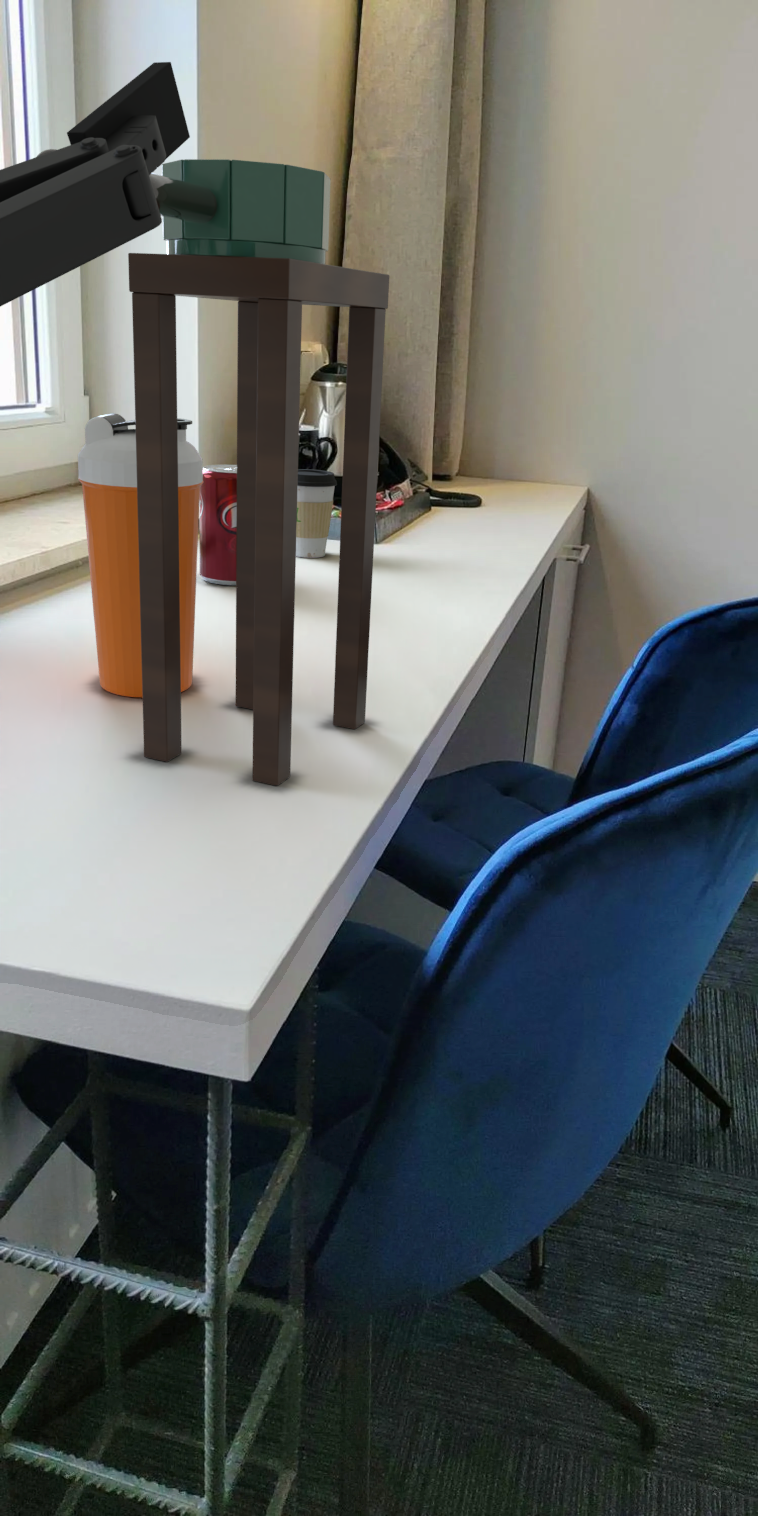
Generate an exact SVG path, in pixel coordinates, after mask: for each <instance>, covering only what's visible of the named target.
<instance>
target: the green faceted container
mask: <svg viewBox="0 0 758 1516" xmlns="http://www.w3.org/2000/svg"><path fill="white" fill-rule="evenodd" d="M55 150H57V148H47V149H45V150H42V151H41V152H40V153H38V154H37V156H36V157H38V156H41V155H44V154H47V153H50V152H52V151H55ZM149 177H150V180H151V184H152V187H153V191H154V194H155V198H156V201H157V205H158V208H159V212H160V215H161V217H162V237H163V238H162V239H163V241H166V254H177V255H206V256H235V257H264V258H290V259H296V260H302V261H308V262H314V263H320V264H326V261H327V259H326V258H327V252H329V239H330V210H331V207H330V206H331V178H330V177H329V176H328V174H327V173H326V172H324V171H323V170H317V169H311V168H306V167H302V166H297V165H292V164H284V163H277V162H276V163H275V162H266V161H265V162H264V161H254V160H241V159H240V160H239V159H226V158H225V159H224V158H223V159H221V158H220V159H218V158H217V159H215V158H213V159H212V158H211V159H210V158H209V159H207V158H205V159H202V158H201V159H200V158H199V159H197V158H196V159H195V158H194V159H193V158H192V159H191V158H188V159H187V158H186V159H178V160H173V161H169V162H163V163H162V164H161V175H160V174H157V173H154V172H152V173H151V174H150V175H149Z"/></svg>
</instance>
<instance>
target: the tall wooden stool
mask: <svg viewBox="0 0 758 1516" xmlns="http://www.w3.org/2000/svg"><path fill="white" fill-rule="evenodd" d="M127 258H128V263H127V264H128V292H130V293H131V307H132V311H131V312H132V313H131V314H132V346H133V348H132V349H133V382H134V383H133V384H134V387H133V388H134V420H135V425H134V427H135V429H136V466H137V504H138V542H139V580H140V619H141V657H142V695H143V698H142V724H143V725H142V729H143V731H142V732H143V734H142V735H143V757H144V758H147V759H152V760H157V761H161V762H165V763H168V762H169V761H171V760H173V759H175V758H177V757H178V756H180V755H181V754H182V752H183V751H182V750H183V749H182V747H183V745H182V692H181V668H180V591H179V514H178V437H177V418H178V381H177V380H178V378H177V377H178V374H177V373H178V371H177V370H178V368H177V364H178V363H177V361H178V360H177V298H176V297H184V298H185V297H186V298H187V297H188V298H199V299H209V300H210V299H211V300H223V301H234V302H237V369H236V370H237V373H236V375H237V377H236V380H237V381H236V382H237V383H236V384H237V385H236V386H237V387H236V465H237V531H236V586H235V707H237V708H242V709H247V710H252V771H251V772H252V773H251V774H252V778H251V779H252V782H258V783H261V784H267V785H272V786H275V787H278V786H279V785H281V784H283V783H284V782H285V781H286V780H288V779H289V778H290V777H291V763H292V761H291V759H292V725H293V723H292V722H293V721H292V717H293V687H294V685H293V683H294V680H293V679H294V677H293V676H294V641H295V640H294V639H295V605H296V603H295V602H296V562H297V561H296V560H297V559H296V558H297V556H296V527H297V487H298V469H299V444H300V443H299V442H300V441H299V440H300V407H301V406H300V403H301V401H300V400H301V399H300V398H301V365H302V364H301V361H302V327H303V326H302V325H303V324H302V323H303V306H320V307H321V306H323V307H342V308H343V307H344V308H348V329H347V355H346V356H347V357H346V378H345V379H346V381H345V407H344V408H345V409H344V428H343V429H344V430H343V455H342V456H343V458H342V481H341V508H340V536H339V559H338V560H339V561H338V581H337V582H338V583H337V585H338V586H337V587H338V588H337V607H336V608H337V609H336V610H337V611H336V631H335V632H336V633H335V635H336V636H335V657H334V658H335V659H334V685H333V687H334V688H333V708H332V709H333V710H332V711H333V712H332V725H333V726H336V727H341V728H346V729H352V730H356V729H358V728H360V726H362V725H363V724H365V722H366V709H367V708H366V706H367V687H368V670H369V669H368V667H369V652H370V651H369V649H370V648H369V647H370V632H371V631H370V628H371V608H372V589H373V572H374V571H373V569H374V552H375V551H374V549H375V533H376V532H375V531H376V509H377V490H378V473H379V472H378V469H379V451H380V431H381V429H380V428H381V410H382V393H383V373H384V372H383V371H384V351H385V334H386V333H385V332H386V331H385V330H386V315H387V313H386V310H388V308H389V296H390V295H389V294H390V292H389V291H390V275H389V274H386V273H382V272H381V273H380V272H376V271H375V272H374V271H368V270H364V269H363V270H362V269H356V268H350V267H344V266H338V265H332V264H326V263H325V264H320V263H314V262H308V261H302V260H296V259H290V258H264V257H235V256H206V255H177V254H167V253H148V252H147V253H146V252H140V253H139V252H128V254H127Z"/></svg>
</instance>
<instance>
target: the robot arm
mask: <svg viewBox="0 0 758 1516" xmlns="http://www.w3.org/2000/svg"><path fill="white" fill-rule="evenodd" d="M66 134H67V138H68V141H69V145H67V146H64V147H62V148H59V149H56V150H55V151H52V152H50V153H47V154H44V155H41V156H38V157H37V156H35V157H33V158H30V159H27V160H24V161H21V162H19V163H15V164H13V165H9V166H7V167H4V168H1V169H0V307H3V306H5V305H7V304H8V303H10V302H12V301H15V300H17V299H18V298H20V297H22V296H24V295H26V294H29V293H30V292H33V291H34V290H36V289H38V288H40V287H42V286H43V285H46V284H48V283H50V282H52V281H53V280H56V279H57V278H60V277H61V276H63V275H64V276H65V275H66V274H68V273H70V272H72V271H73V270H75V269H77V268H79V267H81V266H84V265H86V264H88V263H90V262H91V261H94V260H95V259H97V258H99V257H101V256H103V255H105V254H107V253H109V252H111V251H113V250H115V249H117V248H119V247H121V246H123V245H125V244H127V243H129V242H131V241H133V240H135V239H137V238H139V237H141V236H142V235H144V234H146V233H148V232H150V231H153V230H154V229H156V228H158V227H159V226H161V224H163V218H162V216H161V215H160V212H159V208H158V205H157V201H156V198H155V194H154V191H153V187H152V184H151V180H150V177H149V175H150V174H151V173H154V172H155V171H156V170H157V168H159V167H160V166H162V164H164V163H165V161H166V160H167V159H169V157H171V155H173V153H175V152H176V151H177V150H178V149H179V148H180V147H181V146H182V145H183V144H184V143H186V141H188V139H190V138H191V135H190V132H189V127H188V124H187V120H186V116H185V112H184V109H183V104H182V100H181V96H180V92H179V88H178V85H177V81H176V78H175V73H174V70H173V65H172V62H171V61H163V62H162V61H158V62H152V63H151V64H150V65H149V66H148V67H146V68H145V69H144V70H143V71H141V72H140V73H139V74H138V75H136V76H135V77H134V78H133V79H131V80H130V81H129V82H128V83H126V84H125V85H124V86H123V87H121V89H119V90H118V91H117V92H115V93H114V94H113V95H112V96H111V97H109V98H108V99H107V100H106V101H104V102H103V103H102V104H100V105H99V106H98V107H97V108H96V109H94V110H93V111H92V112H90V113H89V114H88V115H87V116H86V117H84V118H83V119H82V120H81V121H79V122H78V123H77V124H76V125H74V126H73V127H72V128H70V129H69V130H68V131H67V132H66Z"/></svg>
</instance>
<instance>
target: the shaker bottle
mask: <svg viewBox="0 0 758 1516" xmlns="http://www.w3.org/2000/svg"><path fill="white" fill-rule="evenodd" d="M190 425H193V420H191V419H187V418H178V417H177V437H178V514H179V591H180V668H181V693H182V692H185V691H186V690H188V689H190V688H191V686H192V684H193V673H194V648H195V647H194V645H195V620H196V596H197V572H198V571H197V570H198V547H199V545H198V544H199V496H200V486H201V485H202V484H203V467H204V464H203V463H204V462H203V461H204V460H203V458H202V455H200V453H199V452H198V450H197V448H196V447H195V446H194V445H193V444H192V443H190V442H189V441H187V429H188V426H190ZM129 426H135V419H131V420H126V418H124V417H123V416H122V415H121V414H119V413H116V412H115V413H114V412H110V413H107V414H103V415H97V416H93V417H92V418H90V419H89V420H88V421H87V422H86V424H85V426H84V439H85V440H84V441H85V443H84V445H83V446H82V448H81V450H80V451H79V452H78V453H77V468H78V470H77V471H78V473H77V474H78V478H77V480H78V481H79V483H81V486H82V487H81V489H82V499H83V510H84V520H85V522H84V523H85V533H86V543H87V544H86V545H87V554H88V555H87V557H88V566H89V575H90V576H89V577H90V589H91V598H92V611H93V622H94V623H93V624H94V632H95V644H96V655H97V666H98V678H99V679H98V680H99V685H100V687H101V688H102V689H103V690H104V691H106V692H108V693H110V694H113V695H117V696H122V697H128V698H129V697H130V698H142V699H143V695H142V657H141V619H140V580H139V542H138V504H137V466H136V428H129Z"/></svg>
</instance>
